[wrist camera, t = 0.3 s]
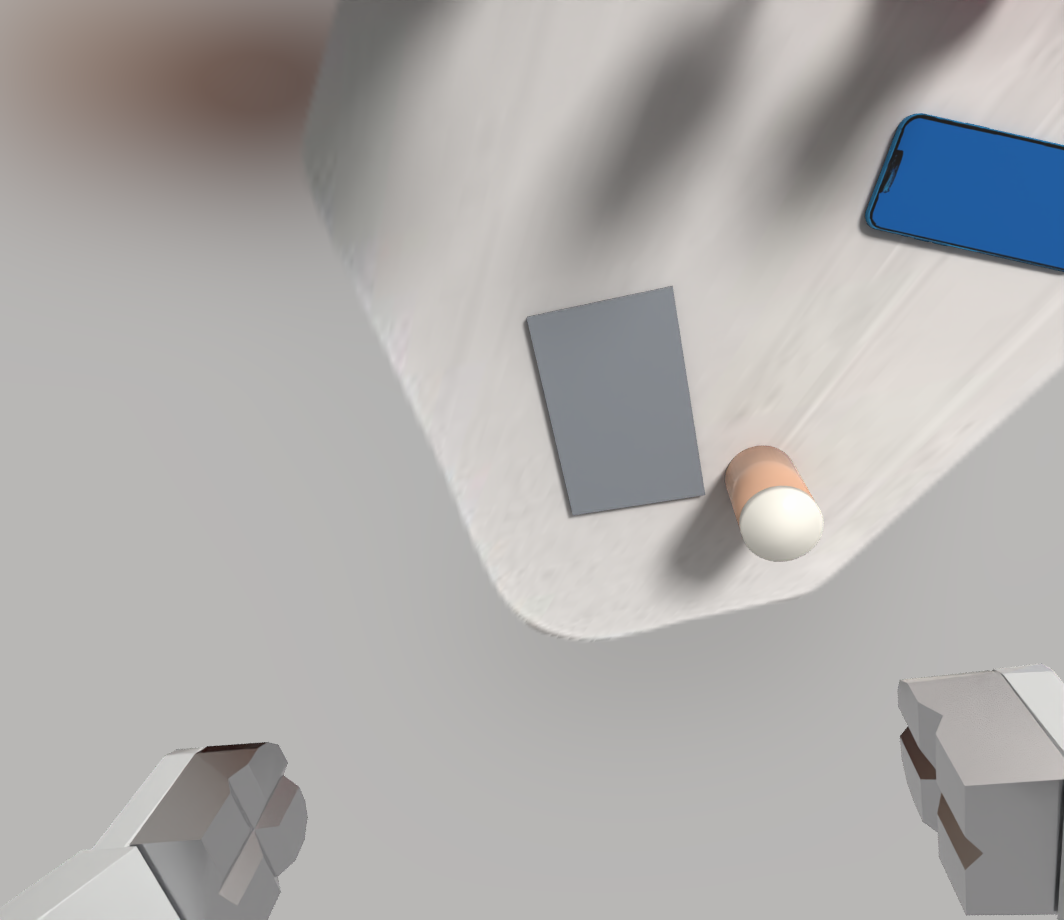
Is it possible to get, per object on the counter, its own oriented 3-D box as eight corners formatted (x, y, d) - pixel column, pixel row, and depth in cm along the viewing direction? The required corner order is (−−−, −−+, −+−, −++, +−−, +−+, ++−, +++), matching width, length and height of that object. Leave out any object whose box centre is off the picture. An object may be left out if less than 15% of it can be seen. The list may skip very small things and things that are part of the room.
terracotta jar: (720, 452, 56) (736, 498, 48) (792, 440, 55) (820, 486, 47) (729, 512, 58) (746, 566, 50) (798, 502, 57) (826, 555, 49)
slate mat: (527, 316, 54) (526, 318, 53) (672, 285, 52) (672, 287, 51) (573, 512, 60) (573, 515, 59) (704, 491, 58) (705, 495, 57)
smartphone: (1077, 275, 48) (863, 227, 48) (1069, 273, 49) (858, 226, 49) (1136, 160, 45) (908, 109, 45) (1126, 160, 46) (902, 110, 46)
